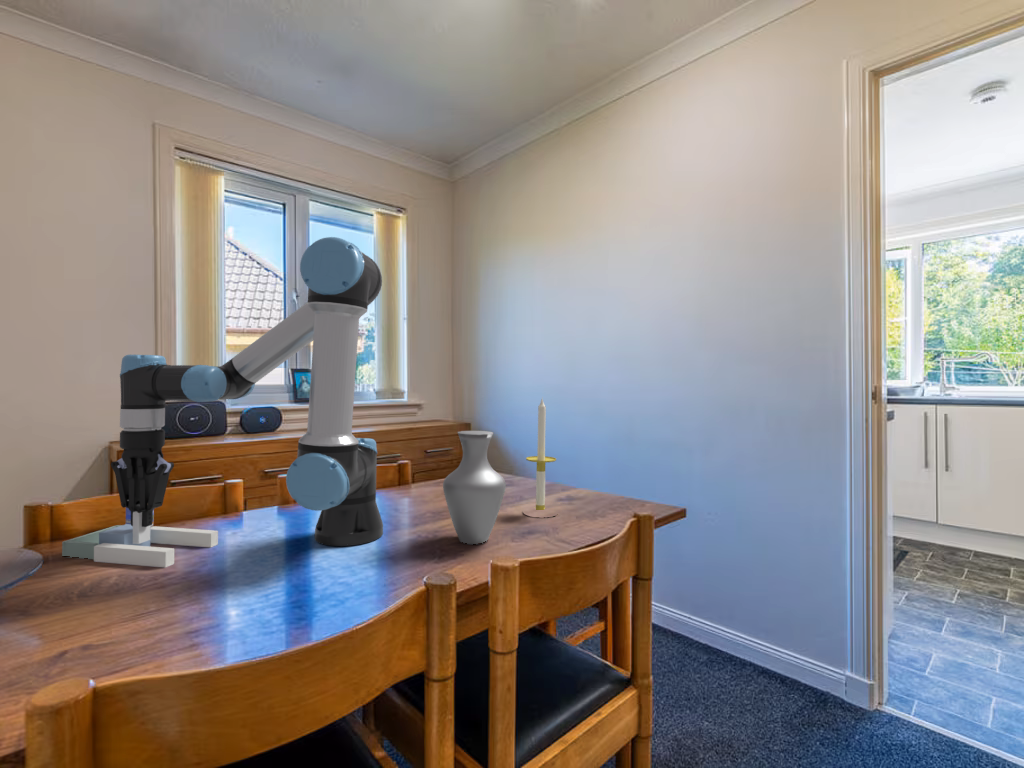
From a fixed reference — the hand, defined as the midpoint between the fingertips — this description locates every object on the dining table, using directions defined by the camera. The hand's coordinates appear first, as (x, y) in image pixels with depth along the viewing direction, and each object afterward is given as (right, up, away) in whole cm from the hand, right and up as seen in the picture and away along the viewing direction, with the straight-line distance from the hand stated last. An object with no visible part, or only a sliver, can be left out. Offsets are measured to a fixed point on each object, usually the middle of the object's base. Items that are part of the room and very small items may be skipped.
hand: (141, 541), depth 103 cm
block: (-4, -2, 0) cm, 4 cm away
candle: (+85, -4, +35) cm, 92 cm away
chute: (+4, -2, -1) cm, 5 cm away
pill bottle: (-13, -2, +16) cm, 21 cm away
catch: (-8, -2, +1) cm, 9 cm away
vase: (+69, -3, +11) cm, 69 cm away
